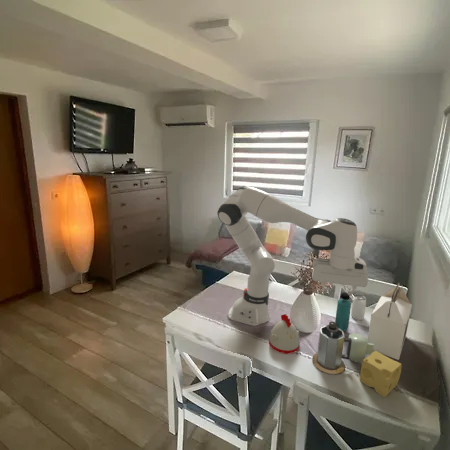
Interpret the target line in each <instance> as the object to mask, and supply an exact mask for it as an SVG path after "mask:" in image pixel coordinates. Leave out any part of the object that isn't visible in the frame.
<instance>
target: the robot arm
mask: <svg viewBox="0 0 450 450" xmlns="http://www.w3.org/2000/svg"><path fill="white" fill-rule="evenodd" d="M247 214H250V215H253V217H254V216H255V217H256V218H258V219H260V220H261V221H263V222H266V223H269V224H278V223H289V224H293V225H295V226H297V227H299V228H301V229H303V230H306V231H307V233H306V234H305V242H306V244H307V245H308V246H309V247H310V248H311V249H313V250H315V251H329V257H328V258H321V257H317V258H315V259H313V260H312V268H313V269H312V273H311V279H312V281H314V282H319V283H320V285H321V288H322V292H323V293H327V292H328V287H327V286H325V284H326V283H329V284H334V285H335V284H336V285H337V284H338V285H345V286H351V288H350V289H347V293H348V295H350V296H353V293H354V292H355V291H356V290H357V287H361V288H366V287H367V286H368V283H369V282H368V281H369V276H368V274H369V273H368V271H367V263H366V262H365V260H364V259H362V258H360V257H357V256H355V255H356V254H355V248H356V246H357V240H358V227H357V224H356V223H355V222H354V221H353V220H350V219H348V218H343V217H338V218H335V219H333V220H330V219H328V218H327V219H326V218H317V217H315V216H313V215H311V214H309V213H306V212H304V211H302V210H299V209H297V208H295V207H293V206H291V205H290V204H287V203H286V202H284V201H283V200H281V199H279V198H277V196H276V197H275V196H274V195H272V194H270V193H268V192H266V191H264V190H262V189H258V188H256V187H251V186H248V185H244V186H243V185H242V186H241V187H239V188H237V190H235V191H233V193H232V194H231V195H229V196H228V198H227V199H226V200H225V201H224V202H223V203H222V204H221V205H220V206H219V207H218V208H217V217H218V220H219V221H221V224H224V226H225V228H226V229H227V231H228V233H229V235H230V236H231V238H232V239H233V241H234V242H235V244H236V245H237V247H238V249H240V251H241V252H242V254H243V255H244V257H245V258H246V260H247V261H248V263H249V265H250V272H249V276H248V277H247V287H245V288H244V289H243V295H242V297H239V298H238V299H235V302H234V303H233V305H232V306H231V307H230V309H229V310H228V314H227V317H228V320H232V321H235V322H238V323H242V324H245V325H249V326H252V327H256V326H258V325H261V324H265V323H268V322H269V320H270V319H271V316H270V312H269V303H270V302H269V301H270V293H269V286H270V277H271V274H272V273H273V272H274V270H275V267H276V266H275V265H276V264H275V260H274V258H273V256H272V255H271V253H270V252H269V251H268V250H267V249H266V247H265V246H264V244H263V243H262V241H261V240H260V238H259V236H258V234H257V233H256V231H255V229H254V228H253V226H252V224H251V223H250V222H249V219H247V217H246V215H247ZM350 296H349V297H350Z"/></svg>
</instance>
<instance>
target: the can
mask: <svg viewBox="0 0 450 450" xmlns="http://www.w3.org/2000/svg"><path fill="white" fill-rule="evenodd" d="M366 307H367V298H366V297H365V296H364V295H361V294H355V295H353V299H352V303H351V310H350V317H351V318H352V319H354V320H356V321H363V320H364V318H365V314H366Z"/></svg>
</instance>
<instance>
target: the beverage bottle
mask: <svg viewBox="0 0 450 450" xmlns="http://www.w3.org/2000/svg"><path fill="white" fill-rule="evenodd" d="M339 297H340V298H339V299H338V300H337V306H336V313H335V320H334V322H335V323H337V327H338V328H339V329H340V330H342V331H343V332H345V331H348V330H349V326H350V318H351V309H352V302H351V301H350V299H351V298H350V295H348V292H341V293H340V296H339Z"/></svg>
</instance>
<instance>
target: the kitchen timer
mask: <svg viewBox="0 0 450 450" xmlns="http://www.w3.org/2000/svg"><path fill="white" fill-rule="evenodd" d="M280 319H281V320H279V321H278V322H277V323H275V324H274V326H273V328H271V329H270V334H269V339H268V344H269V346H270V347H271V349H273V350H274V351H275V352H278V353H281V354H285V355H286V354H288V353H290V354H294V353H296V352H297V351H298V350H299V349H300V345H301V344H300V343H301V342H300V331H299V330H297V328H296V326H295V325H294V324H293V322H291V318H289V316H288V315H287V313H286V314H281V315H280Z"/></svg>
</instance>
